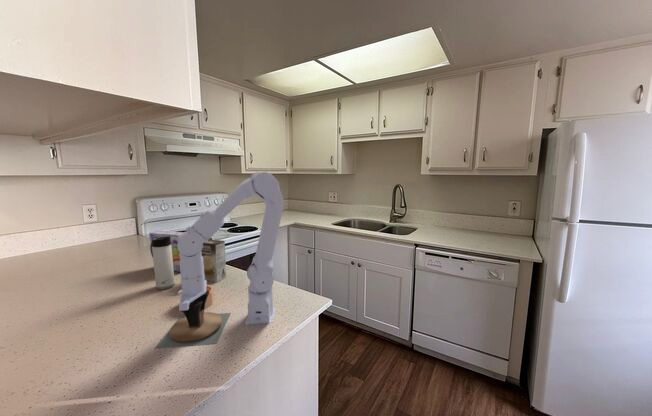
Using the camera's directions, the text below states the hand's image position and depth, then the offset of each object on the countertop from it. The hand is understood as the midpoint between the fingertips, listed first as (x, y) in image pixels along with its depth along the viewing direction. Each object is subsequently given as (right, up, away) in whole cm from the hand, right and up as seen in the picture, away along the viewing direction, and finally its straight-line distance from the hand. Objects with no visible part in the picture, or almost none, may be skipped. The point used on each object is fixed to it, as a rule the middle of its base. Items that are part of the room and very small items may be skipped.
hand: (196, 321), depth 74 cm
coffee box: (-11, +2, +37) cm, 39 cm away
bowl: (-7, -1, +15) cm, 16 cm away
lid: (0, -2, 0) cm, 2 cm away
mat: (0, -3, 0) cm, 3 cm away
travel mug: (-26, +1, +29) cm, 40 cm away
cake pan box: (-36, +3, +48) cm, 60 cm away
